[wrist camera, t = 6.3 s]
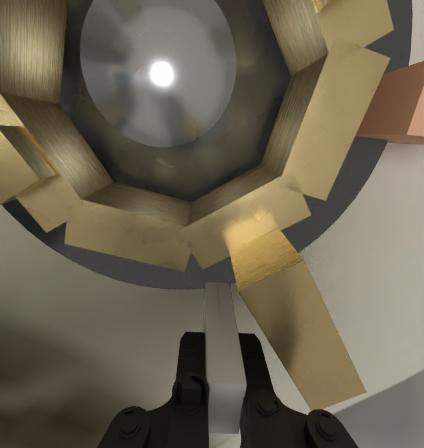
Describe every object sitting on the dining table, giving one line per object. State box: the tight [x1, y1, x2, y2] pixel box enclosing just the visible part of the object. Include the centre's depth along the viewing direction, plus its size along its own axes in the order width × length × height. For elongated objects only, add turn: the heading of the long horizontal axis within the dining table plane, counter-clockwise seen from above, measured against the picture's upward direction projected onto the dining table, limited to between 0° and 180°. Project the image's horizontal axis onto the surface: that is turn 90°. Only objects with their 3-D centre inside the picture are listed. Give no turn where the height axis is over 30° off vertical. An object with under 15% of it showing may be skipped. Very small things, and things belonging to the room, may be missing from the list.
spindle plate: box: [2, 0, 413, 289], centre depth 11 cm, size 24×24×7 cm
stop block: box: [355, 61, 424, 145], centre depth 12 cm, size 6×2×7 cm, turn 84°
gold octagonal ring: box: [0, 0, 394, 411], centre depth 10 cm, size 22×15×7 cm
